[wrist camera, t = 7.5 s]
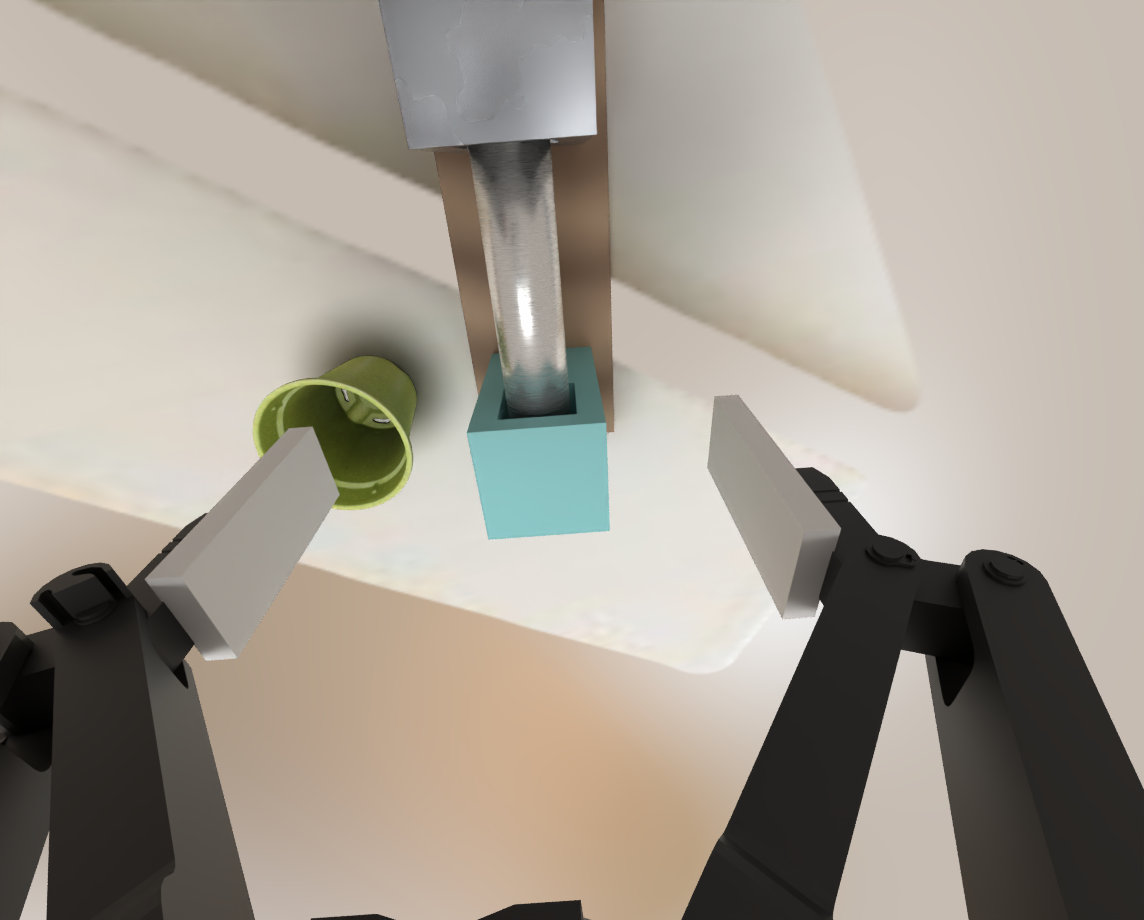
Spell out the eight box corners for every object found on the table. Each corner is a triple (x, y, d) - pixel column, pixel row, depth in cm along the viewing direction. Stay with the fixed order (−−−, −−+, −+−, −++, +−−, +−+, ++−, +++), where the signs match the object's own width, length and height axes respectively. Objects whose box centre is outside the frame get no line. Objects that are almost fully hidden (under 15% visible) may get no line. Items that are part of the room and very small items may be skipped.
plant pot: (448, 444, 40) (424, 509, 32) (332, 448, 40) (281, 513, 32) (428, 331, 35) (394, 377, 28) (296, 335, 35) (226, 382, 27)
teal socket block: (492, 353, 34) (466, 432, 24) (590, 346, 34) (606, 422, 24) (505, 439, 38) (488, 539, 28) (594, 433, 38) (609, 530, 28)
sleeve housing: (434, -11, 24) (351, -132, 14) (573, -22, 24) (587, -152, 14) (460, 153, 28) (408, 149, 18) (581, 144, 28) (596, 134, 18)
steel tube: (469, 109, 22) (455, 100, 19) (547, 102, 21) (546, 93, 19) (517, 441, 30) (512, 472, 27) (572, 437, 30) (574, 467, 27)
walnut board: (412, 0, 26) (405, -9, 24) (600, -15, 26) (603, -25, 24) (488, 432, 39) (486, 441, 38) (611, 423, 39) (614, 431, 38)
